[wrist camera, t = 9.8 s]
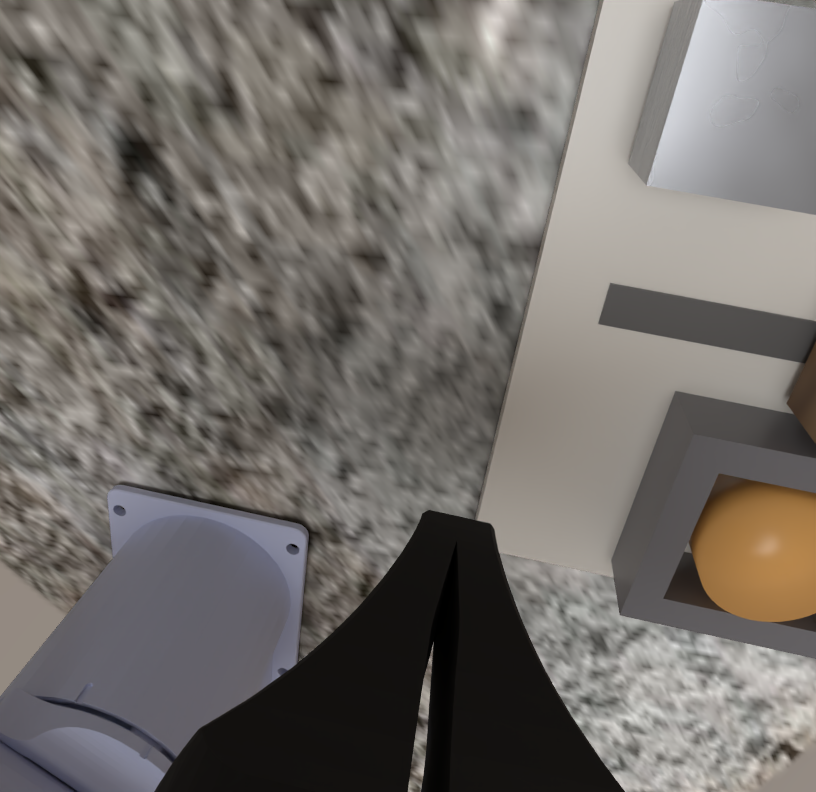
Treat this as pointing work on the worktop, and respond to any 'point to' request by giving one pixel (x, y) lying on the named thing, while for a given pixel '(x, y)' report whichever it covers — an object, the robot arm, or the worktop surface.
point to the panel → (650, 359)
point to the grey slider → (733, 105)
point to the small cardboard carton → (806, 396)
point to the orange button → (757, 549)
